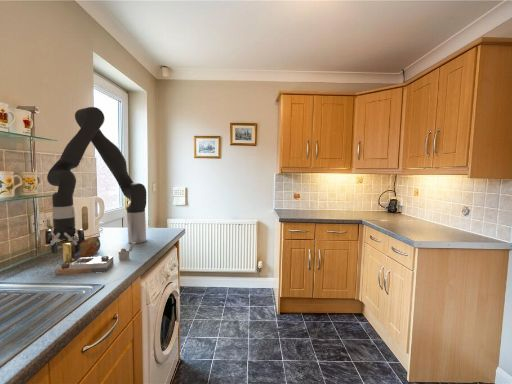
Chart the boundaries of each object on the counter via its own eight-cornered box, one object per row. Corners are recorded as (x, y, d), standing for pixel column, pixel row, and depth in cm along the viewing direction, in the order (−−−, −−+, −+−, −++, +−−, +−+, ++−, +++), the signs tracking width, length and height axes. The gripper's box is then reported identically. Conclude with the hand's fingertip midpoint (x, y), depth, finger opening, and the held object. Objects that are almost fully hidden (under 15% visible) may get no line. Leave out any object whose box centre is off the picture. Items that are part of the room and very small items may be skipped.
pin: (66, 262, 111) (64, 242, 110) (73, 262, 112) (72, 242, 111) (62, 265, 108) (60, 245, 107) (69, 264, 109) (68, 244, 108)
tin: (74, 262, 112) (73, 244, 111) (68, 261, 112) (67, 243, 111) (101, 251, 126) (100, 234, 125) (96, 250, 127) (95, 234, 126)
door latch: (66, 267, 106) (66, 255, 106) (113, 264, 109) (113, 253, 109) (55, 275, 99) (54, 262, 98) (106, 272, 102) (105, 260, 101)
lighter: (118, 260, 114) (117, 243, 113) (119, 259, 116) (118, 242, 115) (135, 259, 116) (135, 242, 115) (136, 257, 118) (135, 241, 117)
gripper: (86, 214, 113) (88, 249, 114) (51, 214, 110) (53, 250, 112) (77, 217, 105) (79, 255, 107) (39, 218, 103) (41, 256, 105)
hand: (66, 252), depth 109 cm, fingers open, 8 cm apart
